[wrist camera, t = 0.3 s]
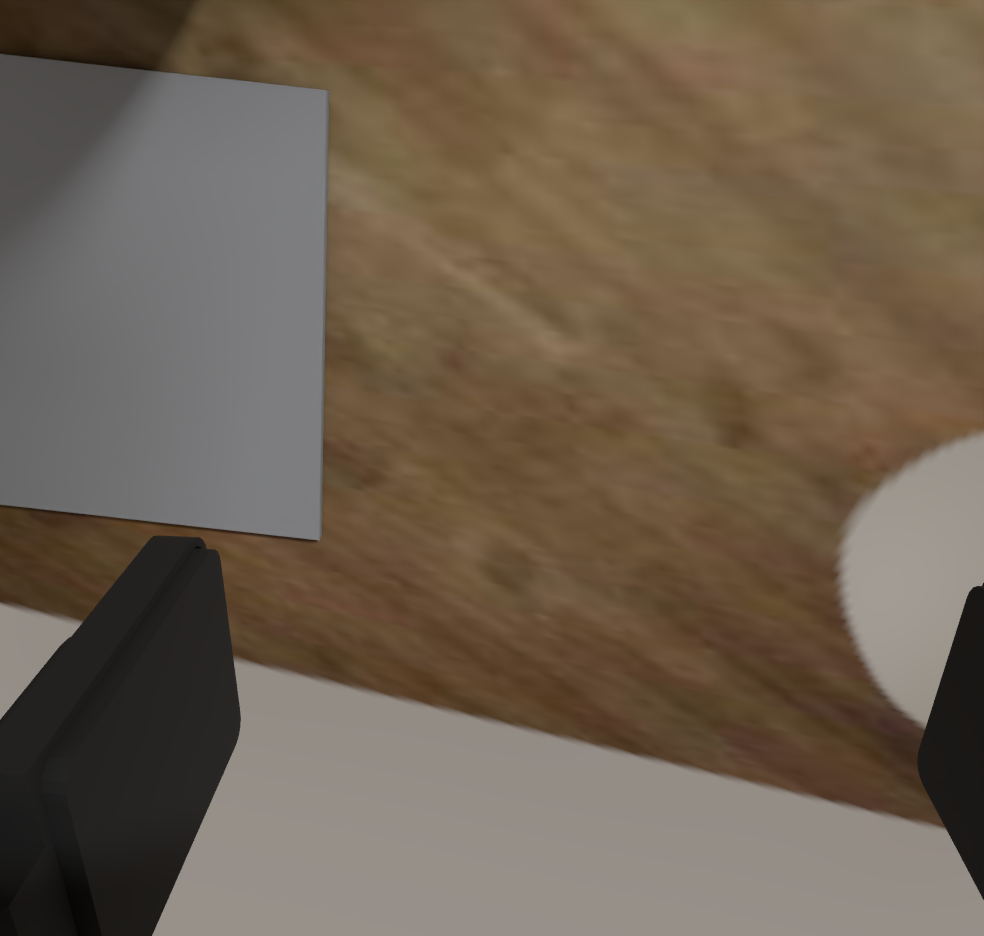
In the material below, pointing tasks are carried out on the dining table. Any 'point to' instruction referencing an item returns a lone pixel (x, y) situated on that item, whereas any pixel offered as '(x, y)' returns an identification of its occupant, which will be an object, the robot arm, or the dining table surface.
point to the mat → (162, 296)
